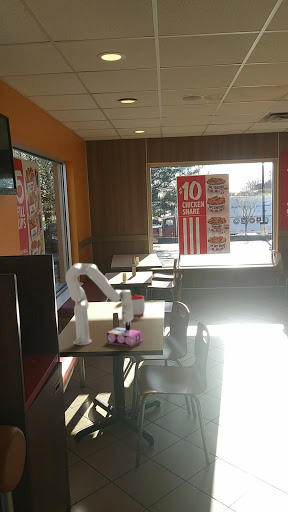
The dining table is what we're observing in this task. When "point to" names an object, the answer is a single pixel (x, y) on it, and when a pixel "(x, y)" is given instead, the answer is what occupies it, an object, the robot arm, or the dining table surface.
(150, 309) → the dining table surface
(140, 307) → the white red bucket
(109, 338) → the gum box
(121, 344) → the mat
